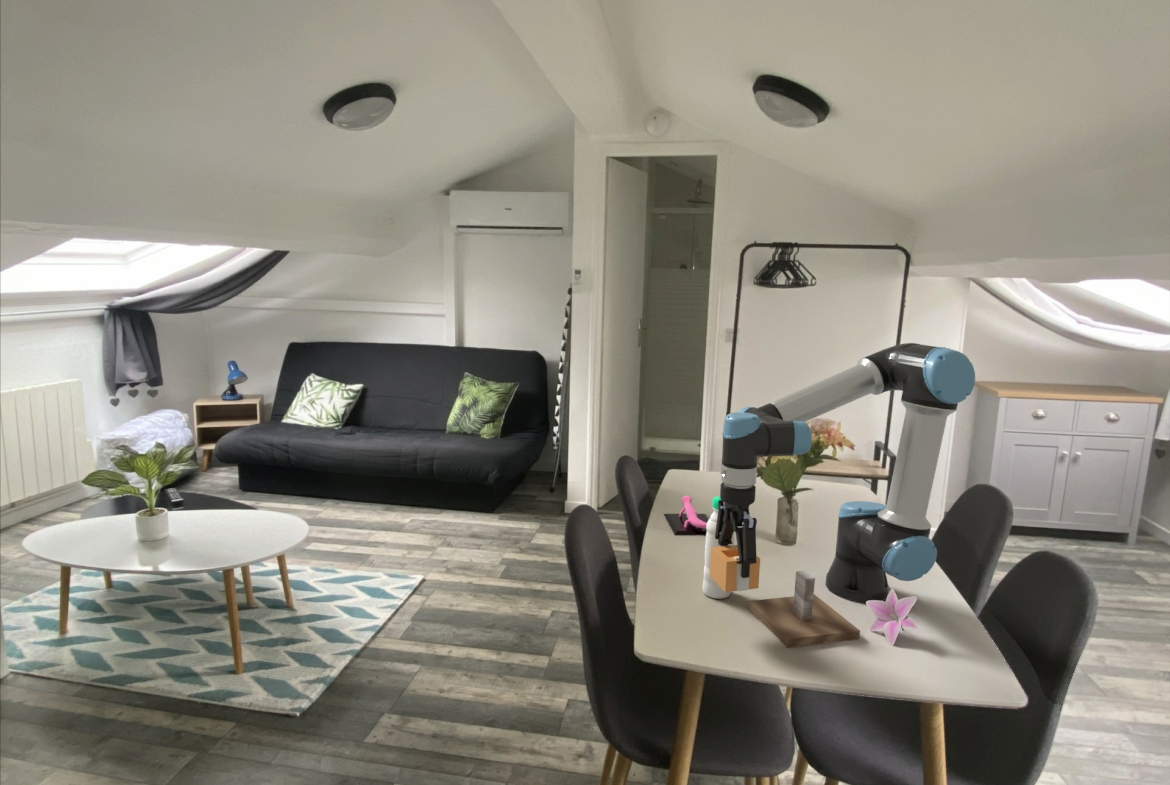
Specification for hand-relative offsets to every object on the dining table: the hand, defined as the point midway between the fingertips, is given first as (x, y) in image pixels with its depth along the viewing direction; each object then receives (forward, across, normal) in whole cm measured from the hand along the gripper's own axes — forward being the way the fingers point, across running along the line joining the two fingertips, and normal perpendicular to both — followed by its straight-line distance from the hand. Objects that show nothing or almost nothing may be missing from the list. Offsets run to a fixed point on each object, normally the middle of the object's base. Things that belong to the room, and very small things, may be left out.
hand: (733, 581), depth 155 cm
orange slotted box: (0, 0, 0) cm, 0 cm away
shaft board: (+12, +1, +18) cm, 21 cm away
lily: (+12, +10, +35) cm, 38 cm away
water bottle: (+12, -17, +4) cm, 21 cm away
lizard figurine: (+13, -64, +18) cm, 68 cm away
